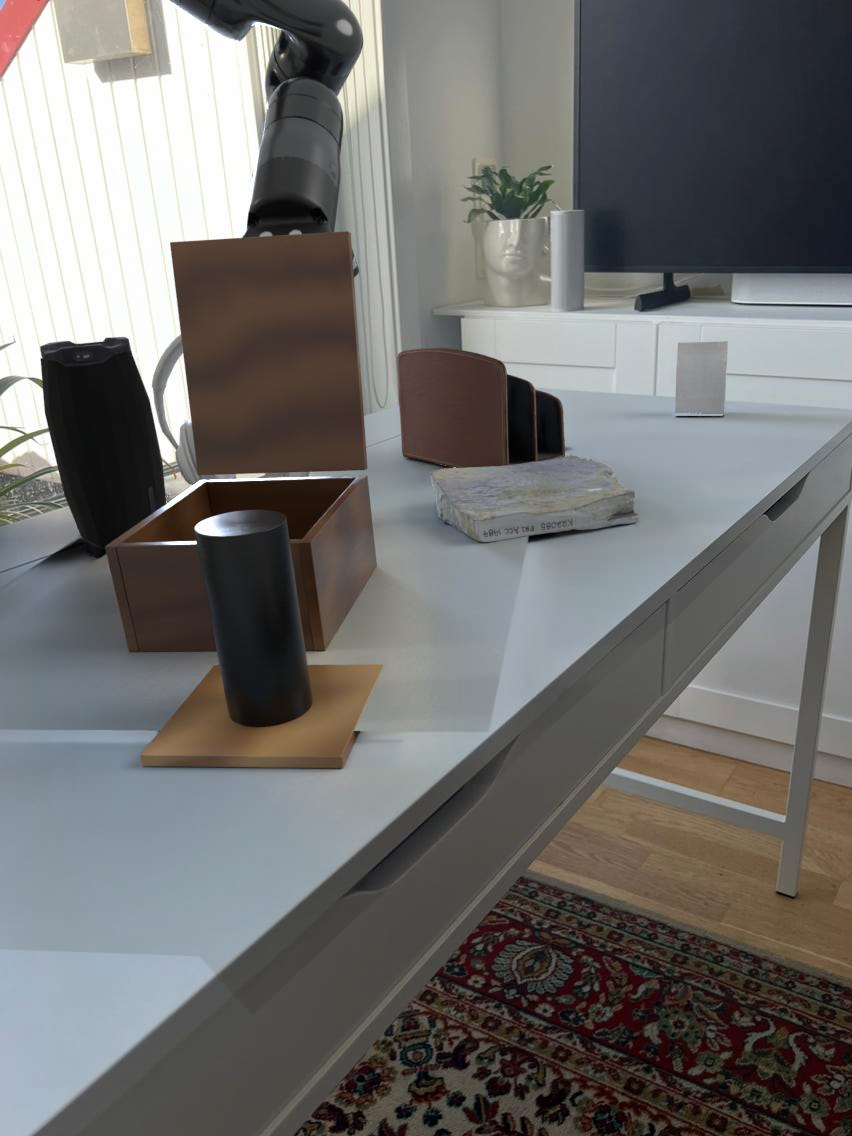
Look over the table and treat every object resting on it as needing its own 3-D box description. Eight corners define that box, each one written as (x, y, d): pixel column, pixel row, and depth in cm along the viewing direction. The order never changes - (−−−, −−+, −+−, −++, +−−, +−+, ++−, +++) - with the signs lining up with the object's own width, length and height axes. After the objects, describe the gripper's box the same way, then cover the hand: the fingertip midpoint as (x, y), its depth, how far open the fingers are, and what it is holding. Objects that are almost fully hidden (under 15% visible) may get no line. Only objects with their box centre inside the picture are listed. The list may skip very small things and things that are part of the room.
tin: (216, 727, 58) (179, 537, 53) (244, 688, 62) (213, 510, 58) (299, 727, 57) (270, 535, 52) (322, 687, 62) (297, 508, 57)
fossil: (665, 526, 94) (583, 477, 108) (666, 481, 92) (583, 437, 106) (476, 568, 88) (416, 510, 102) (472, 521, 86) (412, 468, 100)
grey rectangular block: (723, 416, 135) (727, 343, 131) (675, 417, 137) (676, 344, 133) (724, 411, 138) (728, 339, 134) (677, 412, 140) (679, 341, 136)
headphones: (342, 483, 113) (321, 305, 105) (337, 504, 105) (314, 312, 97) (183, 494, 112) (149, 316, 104) (164, 516, 104) (127, 324, 96)
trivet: (141, 766, 56) (139, 754, 55) (216, 675, 66) (214, 664, 66) (343, 768, 54) (341, 756, 54) (385, 674, 65) (384, 663, 65)
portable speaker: (65, 550, 95) (15, 346, 87) (153, 527, 101) (113, 333, 93) (101, 567, 89) (50, 350, 81) (192, 542, 95) (153, 337, 87)
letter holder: (506, 481, 109) (500, 354, 104) (401, 458, 123) (390, 344, 117) (566, 464, 115) (564, 342, 109) (460, 443, 129) (452, 334, 123)
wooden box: (326, 660, 68) (310, 542, 64) (130, 661, 69) (104, 546, 66) (378, 574, 83) (367, 474, 80) (217, 576, 85) (200, 479, 82)
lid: (348, 231, 74) (350, 232, 75) (169, 242, 76) (173, 243, 77) (365, 470, 79) (367, 469, 80) (197, 475, 81) (201, 474, 82)
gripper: (378, 216, 88) (363, 374, 82) (239, 224, 89) (214, 380, 83) (359, 148, 81) (340, 315, 75) (209, 158, 82) (179, 323, 76)
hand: (274, 349), depth 79 cm, fingers closed
